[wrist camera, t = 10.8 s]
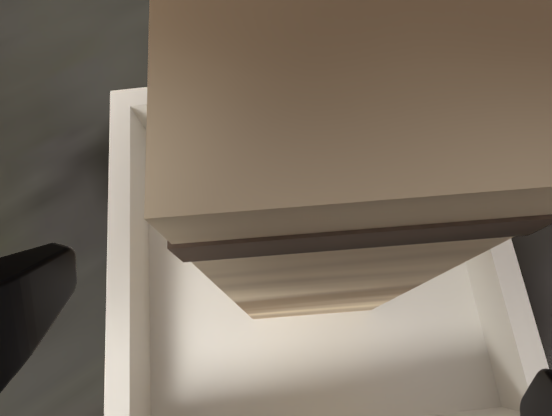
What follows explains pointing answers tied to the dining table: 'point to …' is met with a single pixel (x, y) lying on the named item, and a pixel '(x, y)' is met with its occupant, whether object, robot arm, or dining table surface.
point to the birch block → (345, 142)
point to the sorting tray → (299, 329)
